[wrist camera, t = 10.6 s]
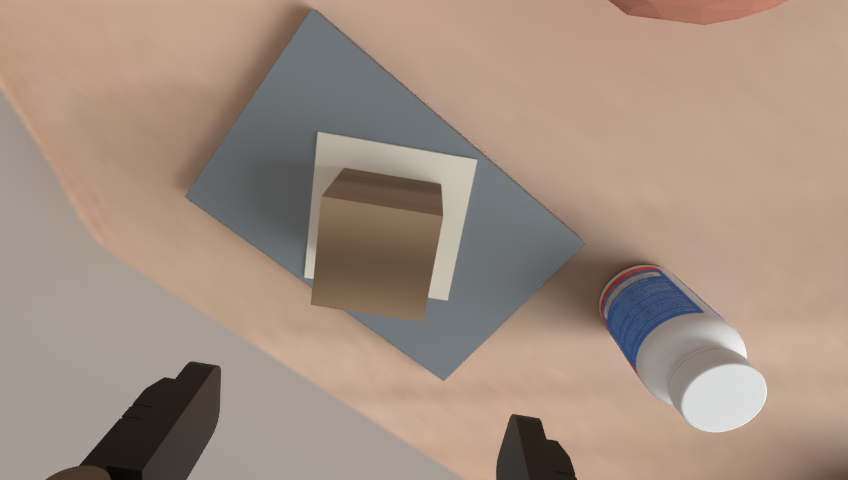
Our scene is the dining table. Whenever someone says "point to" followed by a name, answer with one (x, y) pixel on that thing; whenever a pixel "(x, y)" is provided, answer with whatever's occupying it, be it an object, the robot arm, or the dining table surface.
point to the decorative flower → (695, 9)
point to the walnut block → (377, 244)
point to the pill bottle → (682, 349)
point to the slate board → (391, 155)
